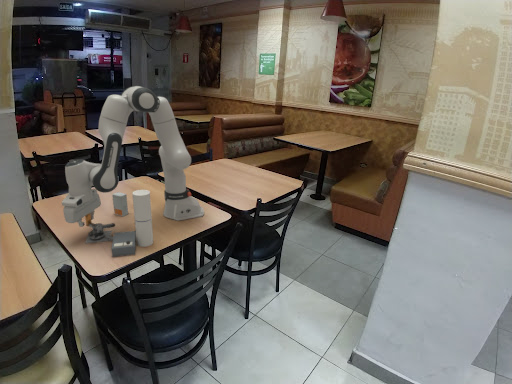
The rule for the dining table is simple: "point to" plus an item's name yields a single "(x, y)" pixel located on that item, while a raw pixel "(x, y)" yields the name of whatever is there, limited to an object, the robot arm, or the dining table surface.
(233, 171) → the dining table surface
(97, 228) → the capstan
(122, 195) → the skincare box
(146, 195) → the cylindrical container
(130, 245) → the stand
